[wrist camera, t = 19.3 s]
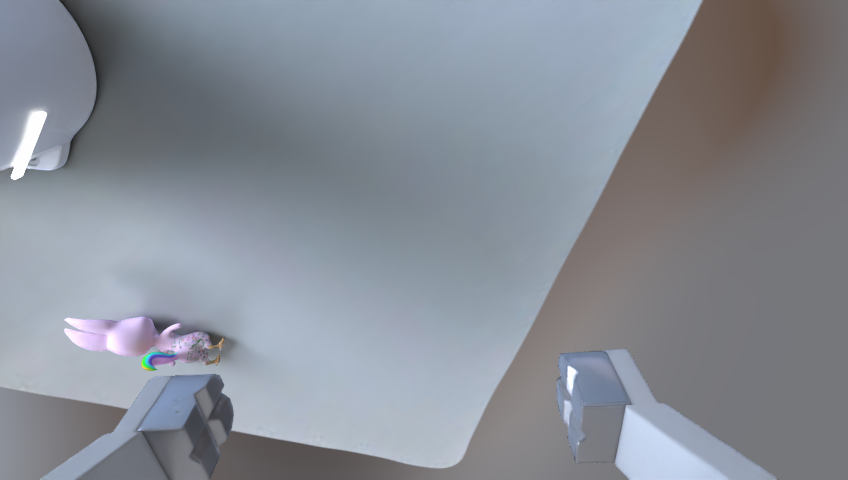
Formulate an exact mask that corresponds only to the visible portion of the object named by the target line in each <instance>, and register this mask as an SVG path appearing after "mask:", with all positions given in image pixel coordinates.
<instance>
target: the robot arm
mask: <svg viewBox="0 0 848 480" xmlns="http://www.w3.org/2000/svg"><path fill="white" fill-rule="evenodd" d="M96 91H97V80H96V72H95V66H94V62H93V59H92V55H91V52H90V50H89V47H88V45H87V42H86V40H85V38H84V36H83V34H82V32H81V30H80V29H79V27H78V25H77V23H76V22H75V20H74V19H73V17H72V16H71V15H70V13H69V12H68V10H67V9H66V8H65V7H64V5H63V4H62V3H61V2H60V1H59V0H0V171H1V170H4V169H7V168H9V167H15V168H14V170H13V173H12V176H11V178H12V179H14V180H15V179H17V178H20V177H22V176H23V174H24V172H25V169H26V168H29V169H39V170H54V169H57V168H60V167H62V166H64V165H65V163H66V161H67V158H68V155H69V149H70V143H71V140H72V138H73V136H74V135H75V134H76V133H77V132H78V131H79V130H80V128H81V127H82V126H83V125H84V124H85V123H86V121H87V120H88V118H89V116H90V114H91V112H92V110H93V107H94V103H95V99H96ZM558 367H559V370H560V373H561V376H560V377H559V378H558V379H557V388H556V392H557V402H558V407H559V412H560V415H561V418H562V421H563V422H564V423H566V424H567V425H568V441H569V444H570V447H571V450H572V453H573V456H574V459H575V462H576V463H615V465H616V466H617V467H618V468H619V469H620V470H621V471H622V472H623V473H624V474H625V475H626V476H627V477H628V478H629V479H630V480H778V478H777V477H775V476H773V475H772V474H771V473H769V472H768V471H766V470H765V469H763V468H762V467H760V466H759V465H757V464H756V463H754V462H753V461H751V460H750V459H748V458H747V457H745V456H744V455H742V454H741V453H739V452H738V451H736V450H735V449H733V448H732V447H730V446H729V445H727V444H726V443H724V442H723V441H721V440H720V439H718V438H717V437H715V436H714V435H712V434H711V433H709V432H708V431H706V430H705V429H703V428H702V427H700V426H699V425H697V424H696V423H694V422H693V421H691V420H690V419H688V418H687V417H685V416H684V415H682V414H681V413H679V412H678V411H676V410H675V409H673V408H672V407H670V406H669V405H667V404H666V403H658V402H657V400H656V398H655V396H654V394H653V393H652V391H651V389H650V387H649V385H648V384H647V382H646V380H645V378H644V377H643V375H642V373H641V371H640V370H639V368H638V366H637V364H636V362H635V361H634V359H633V357H632V355H631V354H630V352H629V351H628V350H626V349H616V350H604V351H589V352H574V353H561V354H560V356H559V362H558ZM223 387H224V383H223V381H222V379H221V377H220V375H216V374H204V375H175V376H157V377H154V378H152V379H151V380H149V381H148V382H147V384H146V385H145V387H144V388H143V390H142V391H141V392H140V394H139V395H138V397H137V398H136V400H135V401H134V403H133V404H132V405H131V407H130V408H129V410H128V411H127V413H126V414H125V416H124V417H123V418H122V420H121V421H120V423H119V424H118V426H117V427H116V428H115V430H114V431H113V433H109V434H105V435H103V436H102V437H100V438H99V439H97V440H96V441H95V442H93V443H92V444H90V445H89V446H87V447H86V448H84V449H83V450H81V451H80V452H78V453H77V454H76V455H74V456H73V457H71V458H70V459H68V460H67V461H66V462H64V463H63V464H61V465H60V466H58V467H57V468H55V469H54V470H53V471H51V472H49V473H48V474H47V475H45V476H44V477H42V478H41V479H39V480H210V478H211V475H212V473H213V471H214V468H215V466H216V464H217V462H218V459H219V457H220V453H219V450H218V448H217V447H218V446H219V445H221V444H222V443H223V442H224V441H225V440H226V439H227V438H228V436H229V433H230V431H231V429H232V423H233V416H234V414H233V406H232V403H231V401H230V398H228V397H227V396H226V395H224V394H223V393H221V391H222V389H223Z"/></svg>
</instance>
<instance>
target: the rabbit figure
mask: <svg viewBox="0 0 848 480" xmlns="http://www.w3.org/2000/svg"><path fill="white" fill-rule="evenodd" d="M65 321H66V322H68V323H69V324H71V325H73V326H74V327H76V328H78V329H80V330H82V331H86V332H89V333H86V332H81V331H76V330H71V329H65V333H66V334H67V335H68V337H69V338H70V339H71V340H72V341H73V342H74V343H75V344H77V345H78V346H80V347H82V348H85V349H88V350H92V351H108V350H110V351H112V352H114V353H116V354H118V355H122V356H130V357H134V356H140V355H143V354H145V353H146V352H147V351H148V350H149V349H150V348H151V347H152V346H157V347H158V348H159V350H160V352H152V353H150V354H148V355H146V356H145V357H144V358H143V360H142V363H141V365H142V367H143V368H144V369H145V370H148V371H154V370H157V369H155V367H154V366H155V365H161V364H166V363H168V364H169V365H170V366H174V365H175V361H174V360H180V361H182V362H185V363H192V362H202V363H204V364H205V365H209V364H212V363H216V366H218V365H217V363H219V361H220V354H221V353H219V355H218V356H217V358H216V359H215V360H213V361H210V360H209V359H208V349H207V348H209V349H212V348H217V347H219V348H220V350H221V348H222V347H223V344H224V340H223V339H224V338H225V337H224V338H222V340H221V342H220V343H219V344H218V345H212V344H211V342H210V336H209V335H208V334H207V333H205V332H194V333H191V334H187V335H183V336H180V335H178V334H176V333H171V332H172V331H173V330H175V329H179V328H181V326H182V324H181V323H177V324H174V325H172V326H170V327H168V328H167V329H166V330H164V331H163V332H162V334H161V335H157V334H156V333H157V330H156V329H155V328H154V323H153V321H152V320H151V319H150V318H148V317H138V318H130V319H126V320H122V321H112V320H85V319H73V318H66V319H65ZM169 350H171V351H173V352H174V354H171V355H170V354H169V353H168V351H169ZM221 351H222V350H221Z"/></svg>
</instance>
